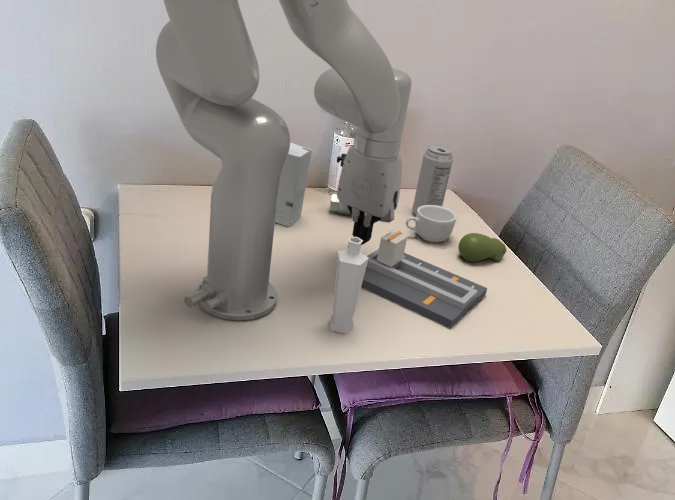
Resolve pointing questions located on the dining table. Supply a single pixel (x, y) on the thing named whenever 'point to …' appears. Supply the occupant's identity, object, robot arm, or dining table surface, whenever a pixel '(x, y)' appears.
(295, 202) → the skincare box
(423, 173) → the energy drink can
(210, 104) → the robot arm
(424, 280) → the console
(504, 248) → the pear
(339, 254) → the perfume bottle
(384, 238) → the fader
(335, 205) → the valve
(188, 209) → the dining table surface
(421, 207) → the teacup
